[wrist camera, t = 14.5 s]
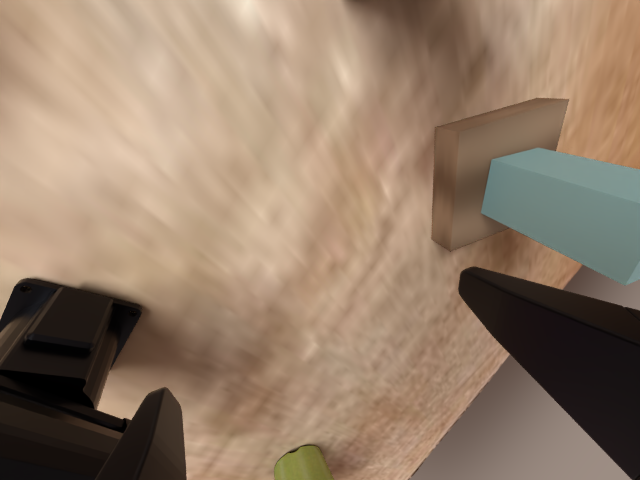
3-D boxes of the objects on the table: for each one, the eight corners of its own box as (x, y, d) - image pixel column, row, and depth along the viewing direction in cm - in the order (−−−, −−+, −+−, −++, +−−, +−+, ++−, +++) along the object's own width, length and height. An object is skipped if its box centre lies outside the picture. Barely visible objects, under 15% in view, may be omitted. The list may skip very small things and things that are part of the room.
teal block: (523, 200, 25) (680, 262, 17) (480, 212, 24) (625, 285, 16) (538, 147, 22) (730, 189, 14) (491, 159, 21) (668, 211, 13)
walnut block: (510, 204, 29) (539, 215, 27) (427, 236, 27) (450, 251, 25) (531, 97, 24) (569, 99, 21) (430, 126, 22) (459, 131, 19)
